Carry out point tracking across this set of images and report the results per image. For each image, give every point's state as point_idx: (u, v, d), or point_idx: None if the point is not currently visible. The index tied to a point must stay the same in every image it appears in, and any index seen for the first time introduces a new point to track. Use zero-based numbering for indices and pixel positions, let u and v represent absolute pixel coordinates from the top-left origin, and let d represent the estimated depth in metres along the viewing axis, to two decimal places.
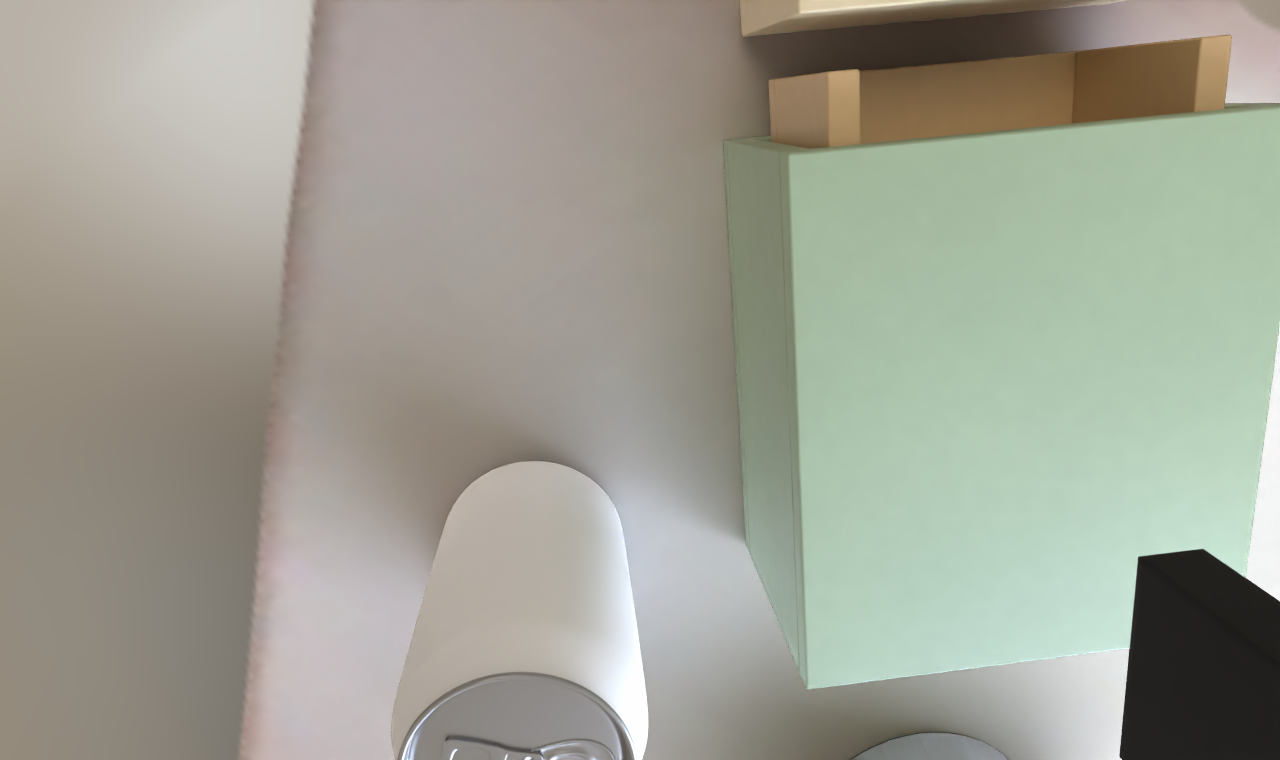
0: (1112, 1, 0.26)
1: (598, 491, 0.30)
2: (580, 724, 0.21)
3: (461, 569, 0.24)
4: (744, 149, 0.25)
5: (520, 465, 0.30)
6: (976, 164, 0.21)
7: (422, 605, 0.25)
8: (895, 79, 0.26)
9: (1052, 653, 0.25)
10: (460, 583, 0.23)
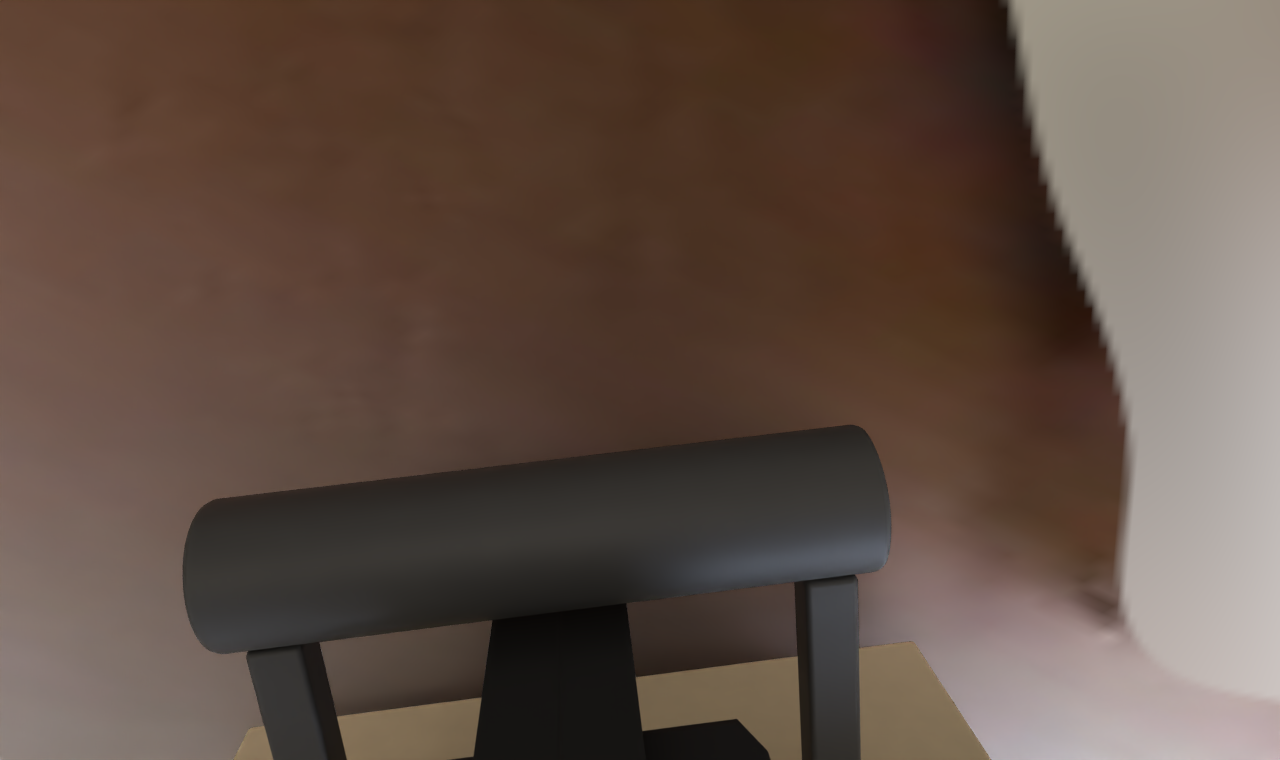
0: None
1: None
2: None
3: None
4: None
5: None
6: None
7: None
8: None
9: None
10: None
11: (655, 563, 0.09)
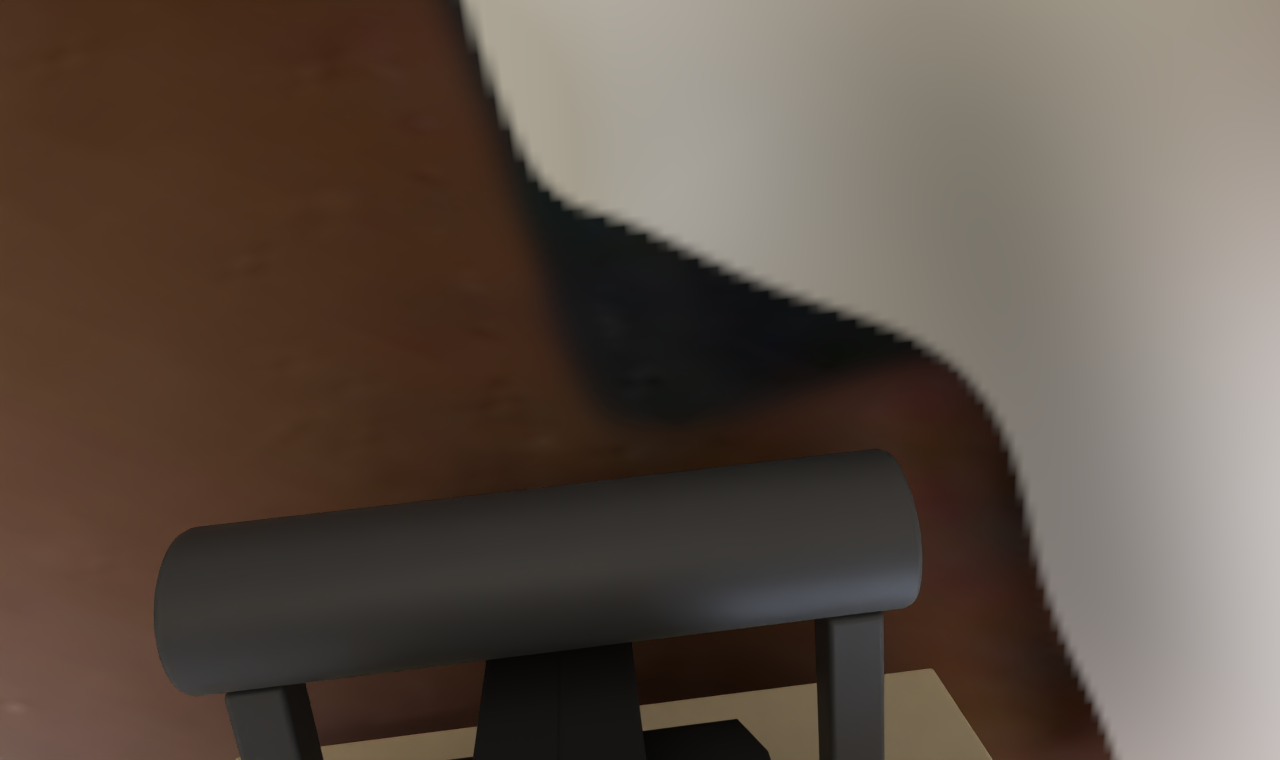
0: None
1: None
2: None
3: None
4: None
5: None
6: None
7: None
8: None
9: None
10: None
11: (667, 601, 0.08)
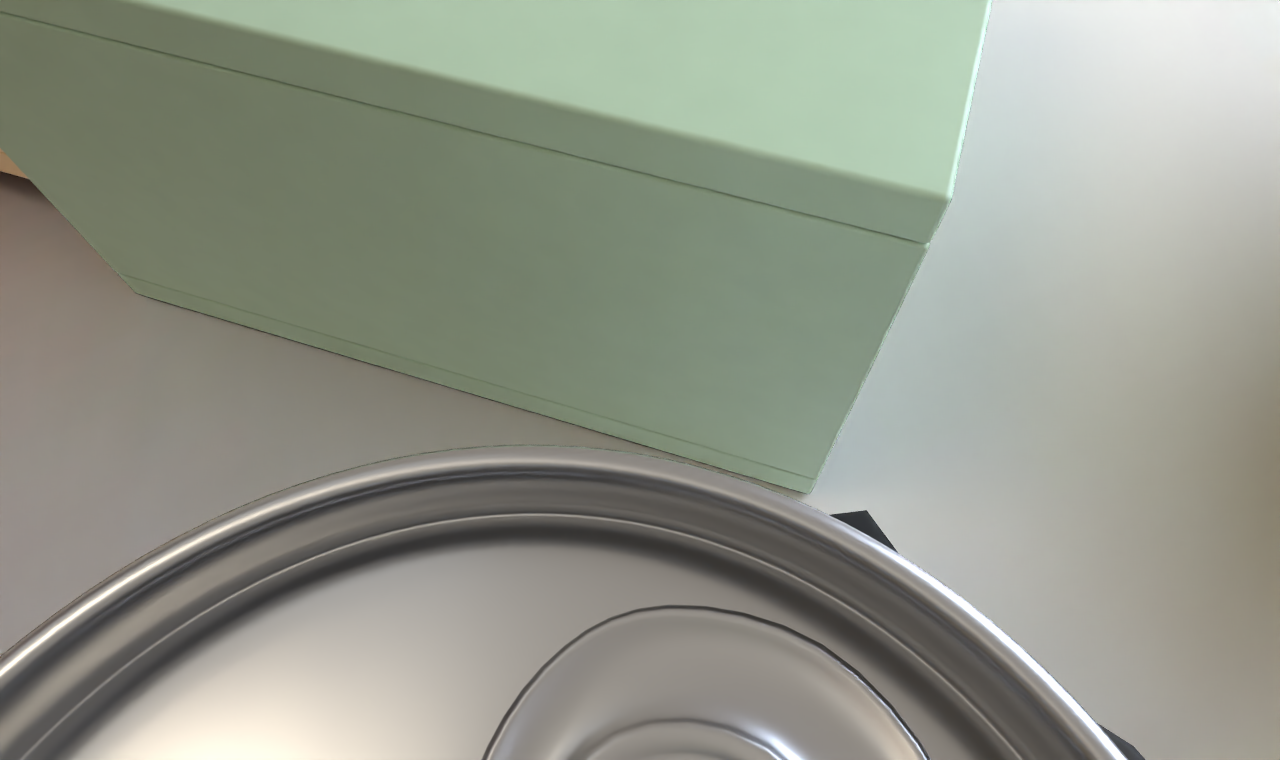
0: None
1: None
2: (416, 685, 0.04)
3: None
4: (38, 185, 0.15)
5: None
6: None
7: None
8: None
9: None
10: None
11: None
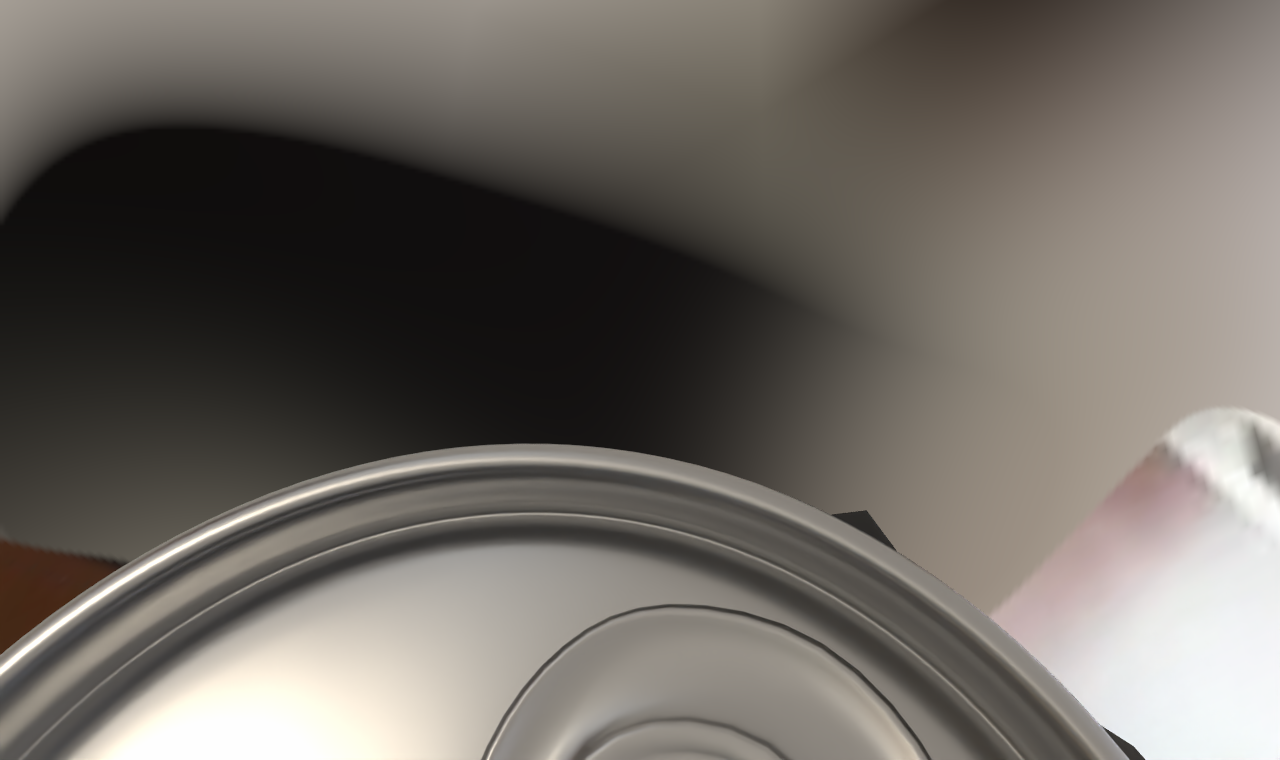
0: None
1: None
2: (415, 683, 0.04)
3: None
4: None
5: None
6: None
7: None
8: None
9: None
10: None
11: None
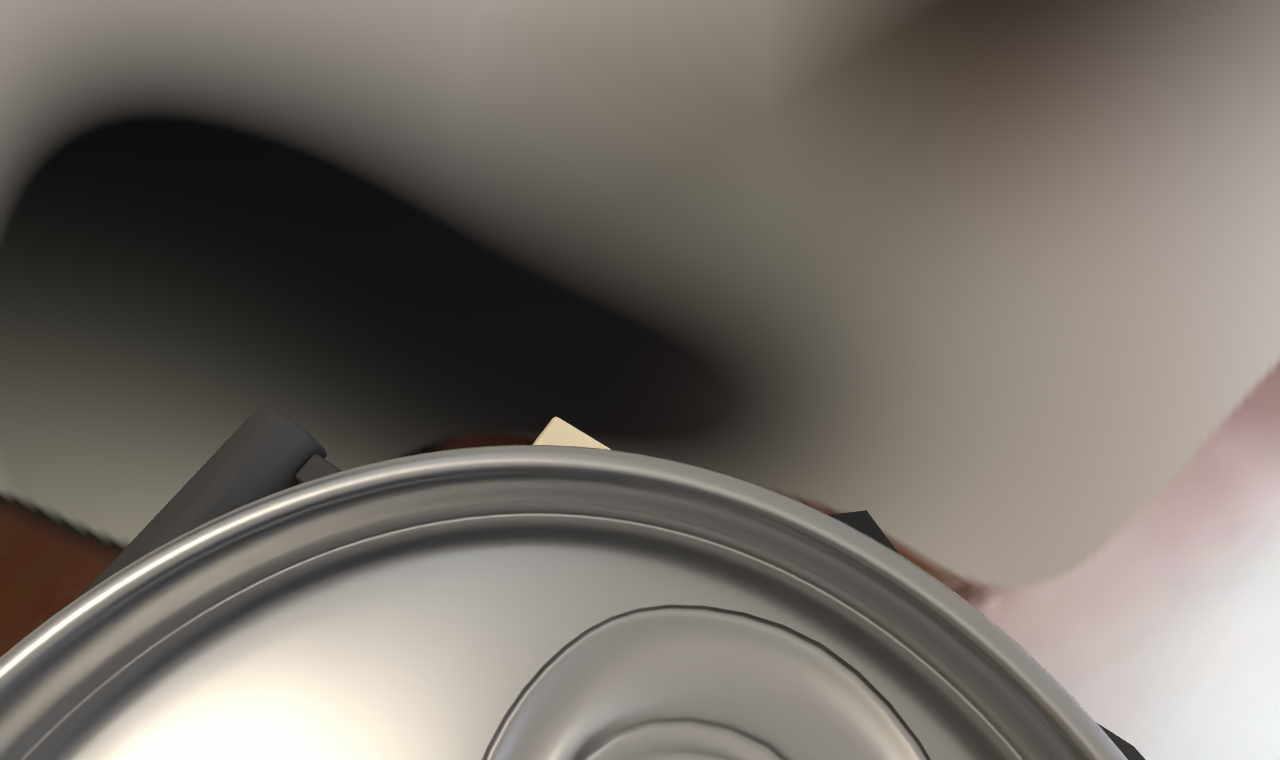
0: None
1: None
2: (417, 683, 0.04)
3: None
4: None
5: None
6: None
7: None
8: None
9: None
10: None
11: (187, 515, 0.16)
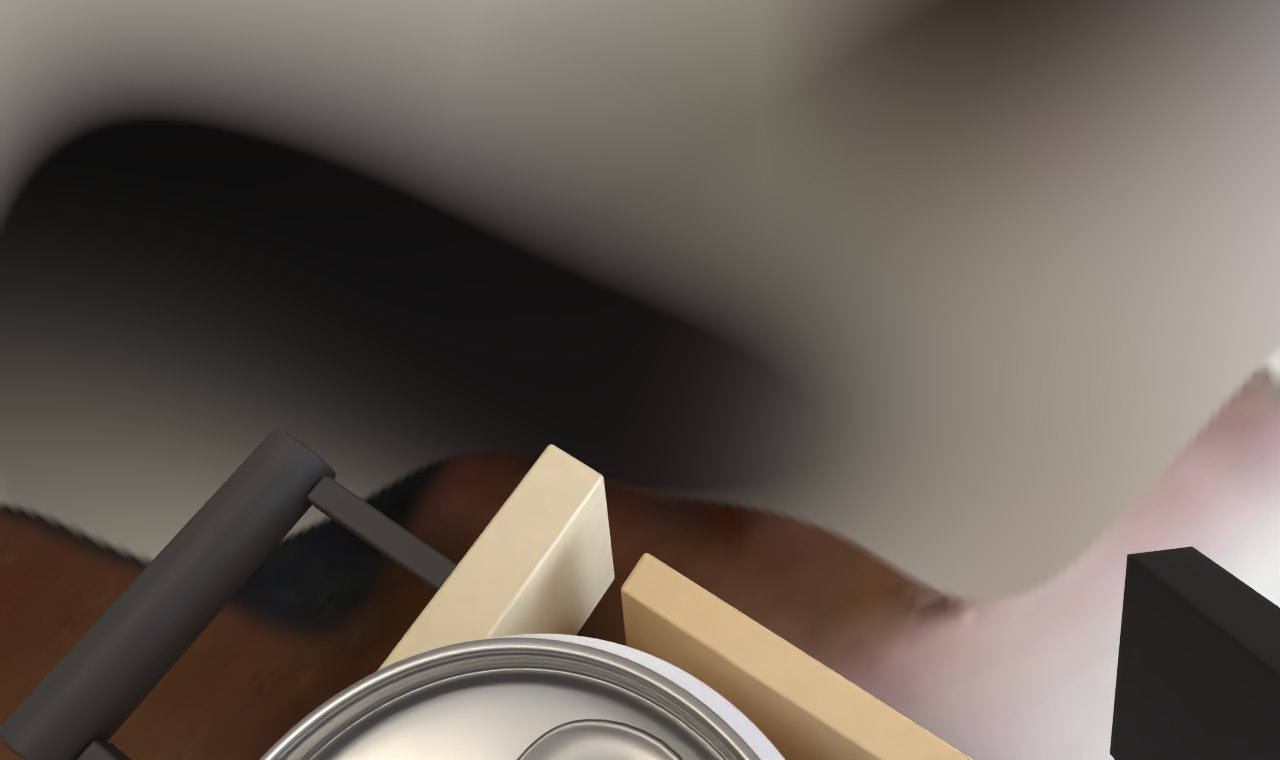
0: (603, 581, 0.20)
1: None
2: (465, 757, 0.08)
3: None
4: None
5: None
6: None
7: None
8: None
9: None
10: None
11: (207, 534, 0.17)
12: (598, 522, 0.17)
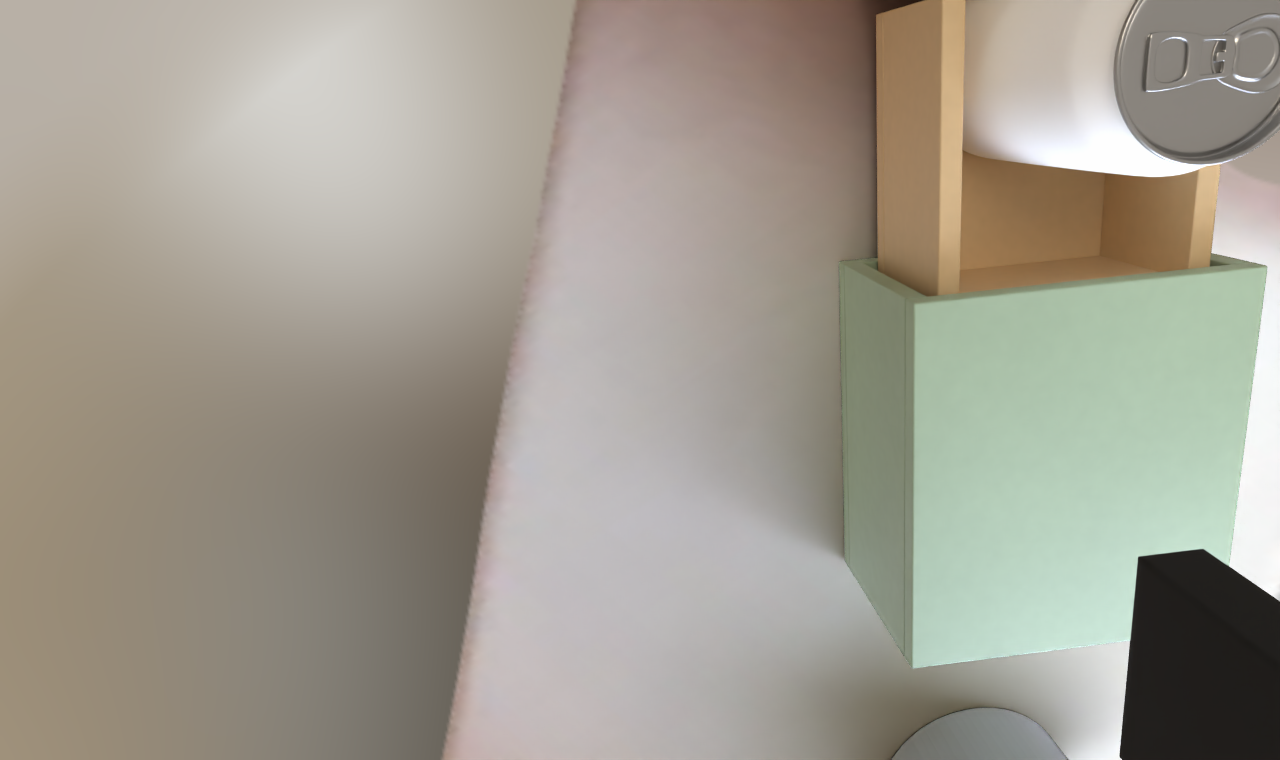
0: None
1: None
2: None
3: None
4: (865, 279, 0.35)
5: None
6: (1040, 308, 0.30)
7: (1006, 42, 0.28)
8: None
9: (1087, 642, 0.35)
10: None
11: None
12: None
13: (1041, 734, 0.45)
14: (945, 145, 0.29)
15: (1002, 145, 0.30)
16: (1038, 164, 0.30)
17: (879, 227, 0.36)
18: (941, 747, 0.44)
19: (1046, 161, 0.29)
